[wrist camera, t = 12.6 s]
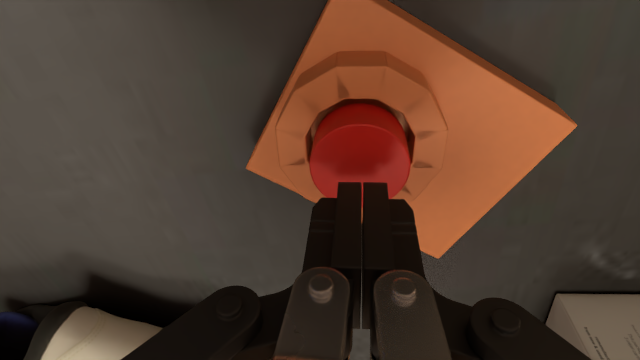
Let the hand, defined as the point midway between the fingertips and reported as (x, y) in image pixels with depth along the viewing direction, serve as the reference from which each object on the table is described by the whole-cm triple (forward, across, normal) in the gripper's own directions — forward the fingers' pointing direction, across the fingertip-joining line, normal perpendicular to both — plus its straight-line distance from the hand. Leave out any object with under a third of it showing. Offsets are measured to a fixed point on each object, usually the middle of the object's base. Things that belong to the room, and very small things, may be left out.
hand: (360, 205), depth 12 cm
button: (+4, 0, 0) cm, 4 cm away
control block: (+7, -2, +1) cm, 8 cm away
